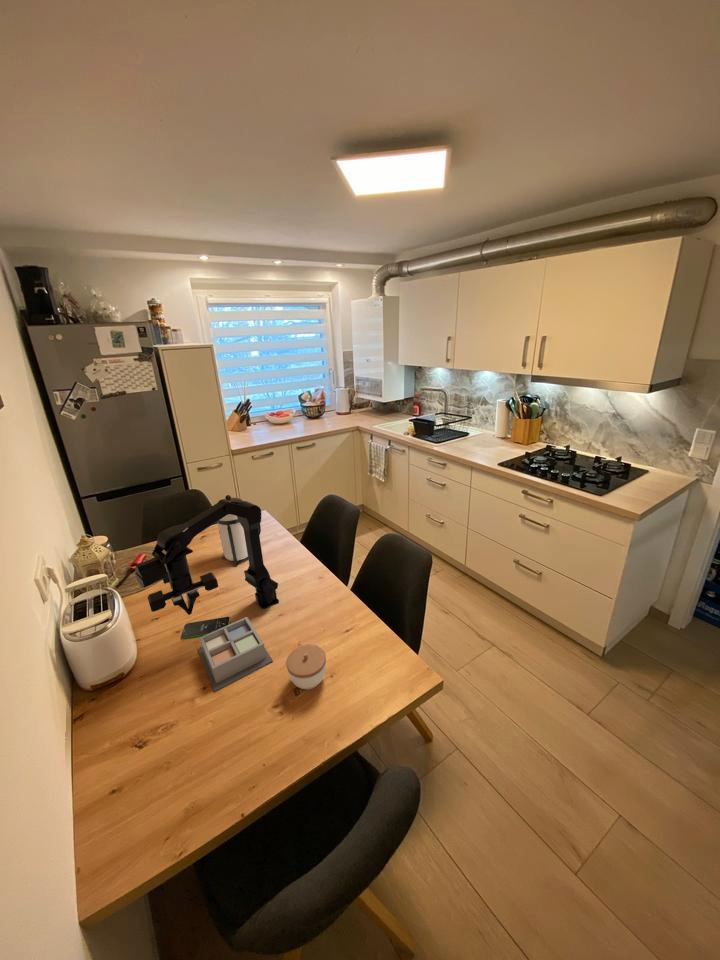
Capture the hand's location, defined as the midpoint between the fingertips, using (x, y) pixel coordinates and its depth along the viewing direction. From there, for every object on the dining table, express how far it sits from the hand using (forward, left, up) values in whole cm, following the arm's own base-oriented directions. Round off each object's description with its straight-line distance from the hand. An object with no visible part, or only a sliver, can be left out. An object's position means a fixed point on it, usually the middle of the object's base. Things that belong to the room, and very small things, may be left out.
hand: (189, 613), depth 117 cm
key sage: (-12, +15, -10) cm, 22 cm away
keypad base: (-8, +12, -12) cm, 19 cm away
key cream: (-5, +9, -11) cm, 15 cm away
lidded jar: (-22, +34, -12) cm, 42 cm away
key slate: (-12, +9, -11) cm, 18 cm away
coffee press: (-29, -44, -12) cm, 54 cm away
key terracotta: (-4, +16, -11) cm, 20 cm away
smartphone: (-4, -6, -13) cm, 15 cm away
